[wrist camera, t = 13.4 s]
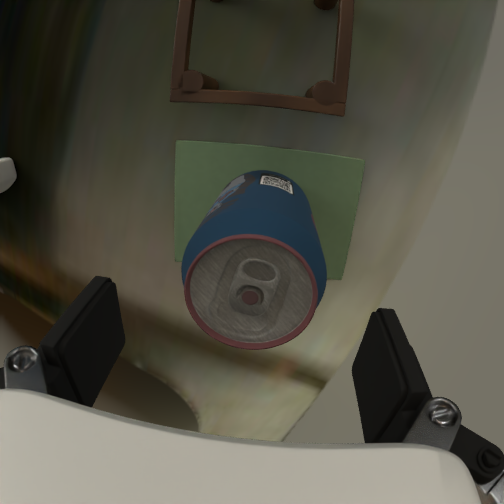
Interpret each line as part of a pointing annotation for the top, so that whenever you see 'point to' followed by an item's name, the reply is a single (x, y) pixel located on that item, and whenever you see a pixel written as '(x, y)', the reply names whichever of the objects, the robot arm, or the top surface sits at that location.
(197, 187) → the mat
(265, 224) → the soda can
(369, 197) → the top surface
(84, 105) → the top surface
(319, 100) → the can rack
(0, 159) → the eye dropper bottle
